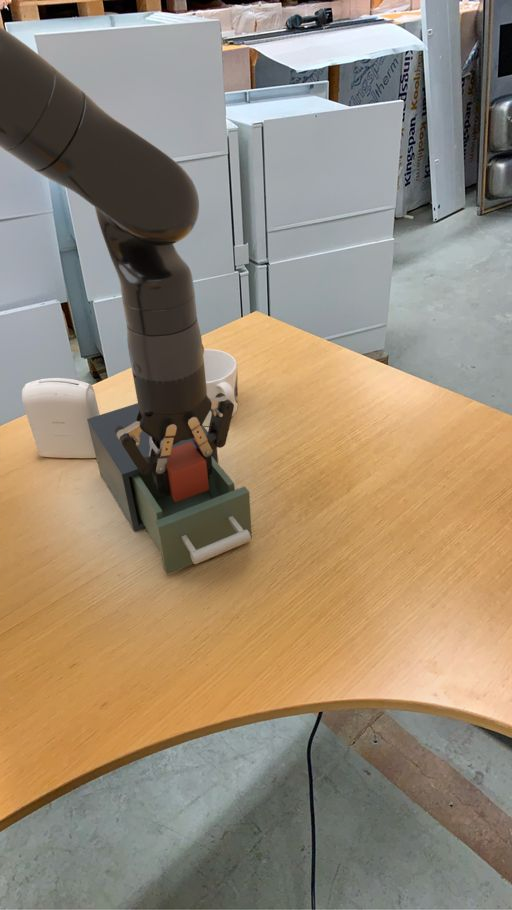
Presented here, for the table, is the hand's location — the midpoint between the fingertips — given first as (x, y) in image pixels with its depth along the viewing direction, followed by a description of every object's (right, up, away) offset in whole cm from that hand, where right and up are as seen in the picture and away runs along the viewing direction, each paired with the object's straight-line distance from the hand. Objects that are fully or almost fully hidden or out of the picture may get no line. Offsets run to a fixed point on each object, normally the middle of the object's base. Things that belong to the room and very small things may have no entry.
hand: (184, 483), depth 78 cm
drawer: (+1, -7, +3) cm, 7 cm away
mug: (+2, +10, +26) cm, 28 cm away
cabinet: (-5, -1, +12) cm, 13 cm away
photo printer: (-19, +4, +19) cm, 27 cm away
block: (0, 0, 0) cm, 0 cm away
